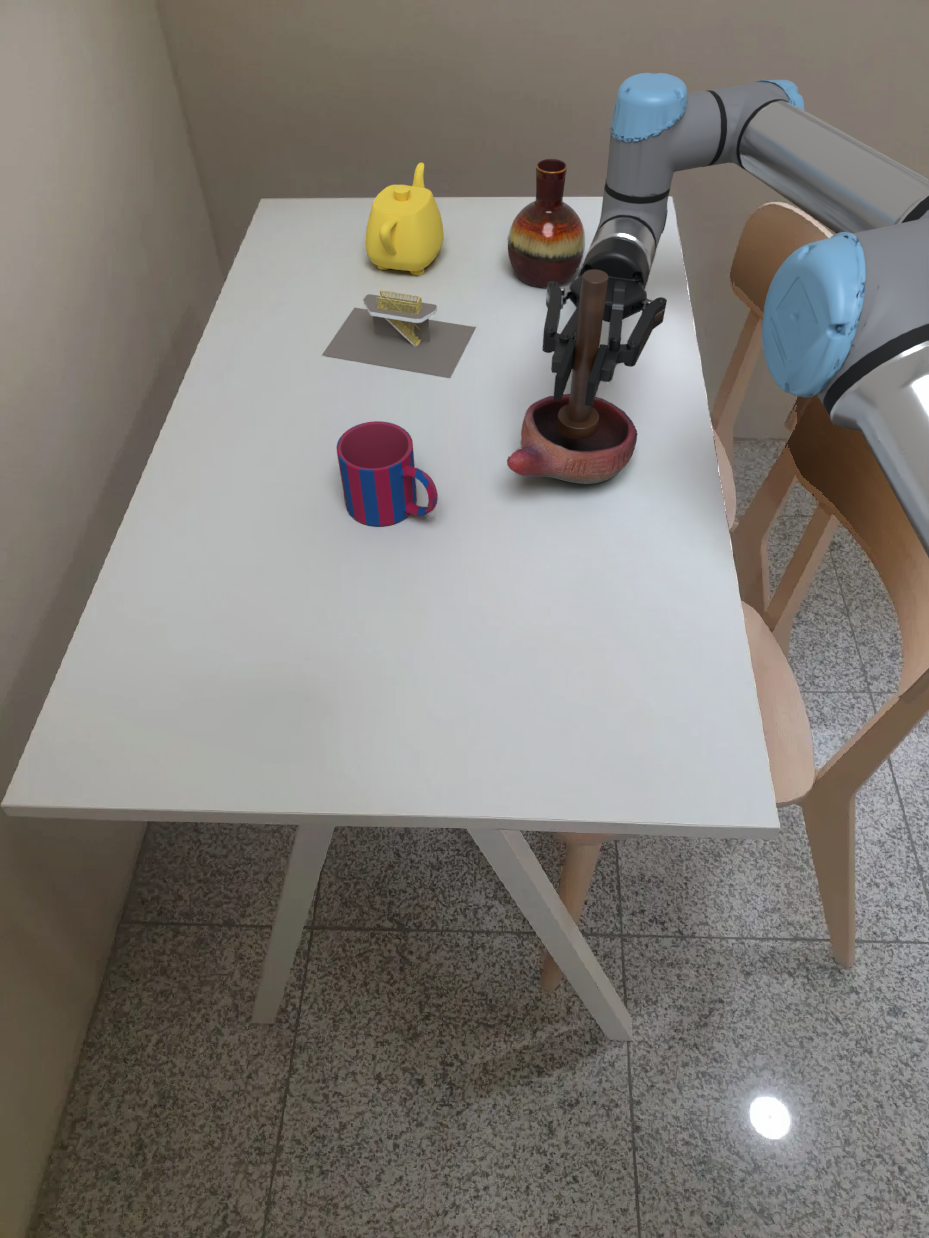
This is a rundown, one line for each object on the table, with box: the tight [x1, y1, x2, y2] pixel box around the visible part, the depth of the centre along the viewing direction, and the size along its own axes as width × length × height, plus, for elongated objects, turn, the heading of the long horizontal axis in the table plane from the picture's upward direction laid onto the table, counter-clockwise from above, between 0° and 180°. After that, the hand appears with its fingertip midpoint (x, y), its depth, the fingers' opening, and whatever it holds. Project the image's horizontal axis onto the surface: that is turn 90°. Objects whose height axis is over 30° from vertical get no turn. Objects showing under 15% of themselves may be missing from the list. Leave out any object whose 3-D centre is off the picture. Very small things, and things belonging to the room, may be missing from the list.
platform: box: [321, 289, 477, 379], centre depth 111 cm, size 12×18×7 cm, turn 73°
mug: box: [336, 420, 439, 527], centre depth 91 cm, size 8×12×8 cm, turn 46°
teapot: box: [365, 162, 445, 276], centre depth 123 cm, size 18×11×11 cm, turn 164°
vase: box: [507, 158, 586, 288], centre depth 118 cm, size 11×11×15 cm
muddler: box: [557, 270, 608, 439], centre depth 85 cm, size 4×4×18 cm
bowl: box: [506, 393, 638, 485], centre depth 94 cm, size 16×13×8 cm
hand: (574, 391), depth 81 cm, fingers closed on muddler, 2 cm apart
